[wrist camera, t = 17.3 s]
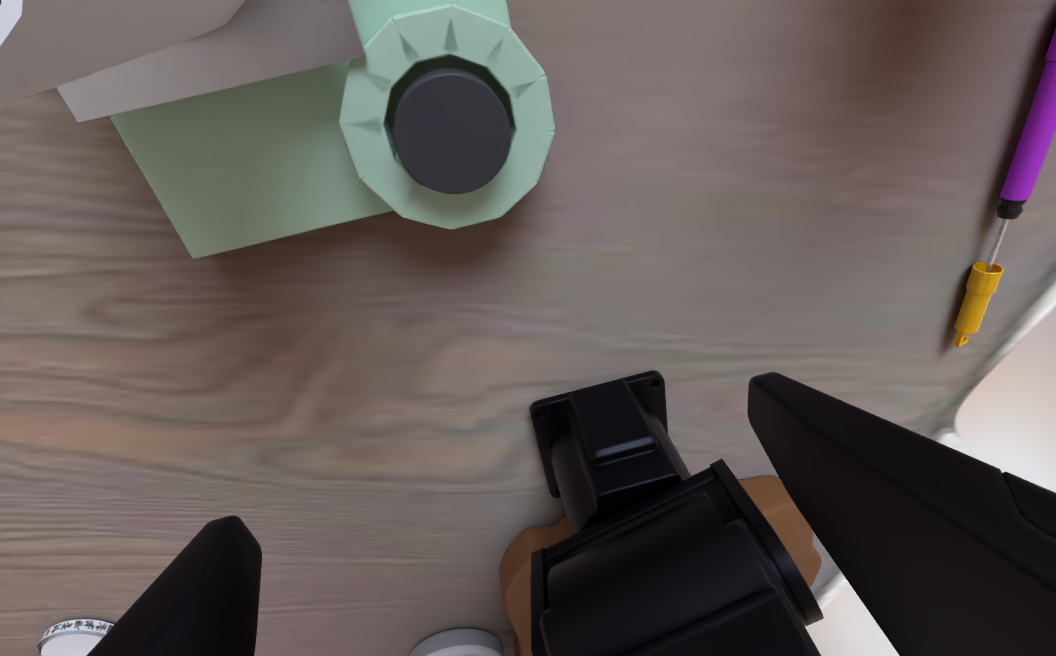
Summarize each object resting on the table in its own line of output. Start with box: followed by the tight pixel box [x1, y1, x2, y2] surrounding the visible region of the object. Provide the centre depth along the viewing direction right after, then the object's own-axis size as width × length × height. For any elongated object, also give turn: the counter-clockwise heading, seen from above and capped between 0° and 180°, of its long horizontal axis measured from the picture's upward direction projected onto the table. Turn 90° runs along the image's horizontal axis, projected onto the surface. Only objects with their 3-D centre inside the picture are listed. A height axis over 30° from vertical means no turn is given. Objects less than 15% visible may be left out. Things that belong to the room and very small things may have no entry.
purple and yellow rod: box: [954, 28, 1056, 347], centre depth 24 cm, size 3×1×16 cm
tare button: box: [394, 67, 511, 194], centre depth 16 cm, size 3×3×2 cm
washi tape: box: [36, 619, 114, 656], centre depth 29 cm, size 4×4×1 cm
